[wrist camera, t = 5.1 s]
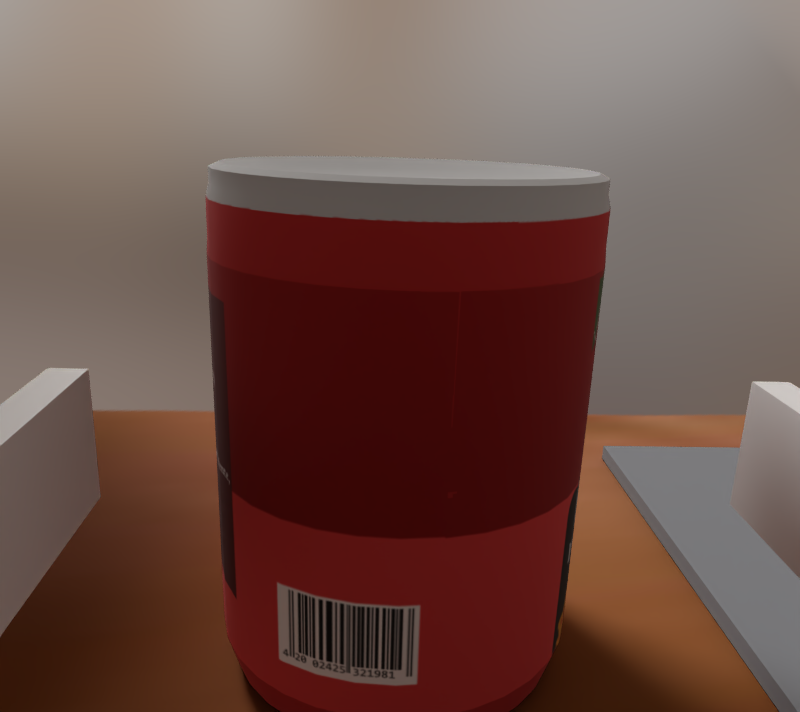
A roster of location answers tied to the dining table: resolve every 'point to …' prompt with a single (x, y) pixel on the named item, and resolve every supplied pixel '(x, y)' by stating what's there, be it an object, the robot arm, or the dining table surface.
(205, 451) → the dining table surface
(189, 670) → the dining table surface
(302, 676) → the canned food
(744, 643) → the rubber mat
